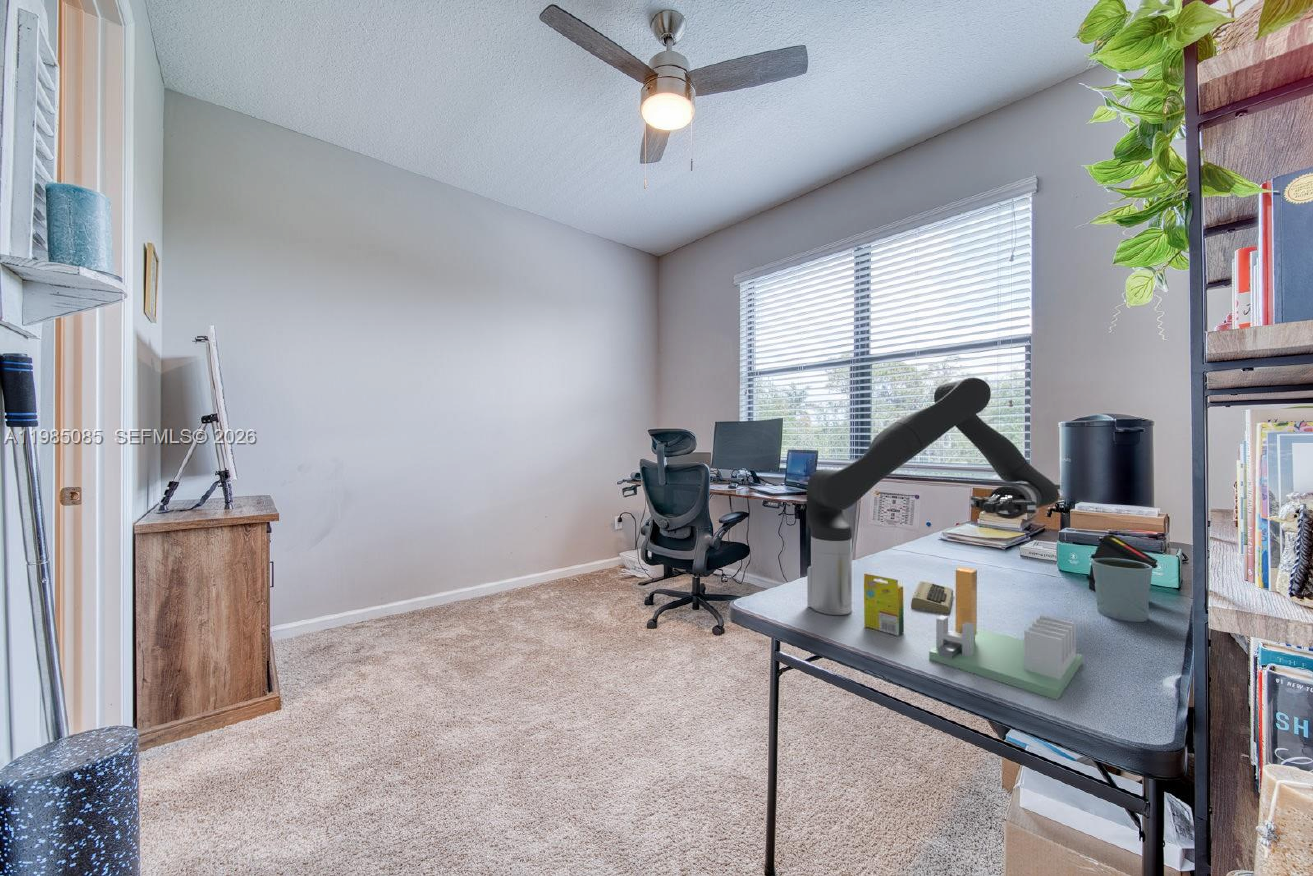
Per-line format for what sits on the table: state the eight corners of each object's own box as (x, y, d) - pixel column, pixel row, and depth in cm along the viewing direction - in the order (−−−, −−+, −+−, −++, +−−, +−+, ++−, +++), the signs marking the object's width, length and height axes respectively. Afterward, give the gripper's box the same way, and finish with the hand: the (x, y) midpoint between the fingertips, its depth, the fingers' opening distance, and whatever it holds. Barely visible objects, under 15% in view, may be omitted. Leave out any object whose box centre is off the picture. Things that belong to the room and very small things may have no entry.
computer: (949, 616, 116) (949, 601, 116) (910, 609, 121) (910, 595, 121) (953, 597, 129) (953, 584, 129) (918, 592, 134) (918, 579, 134)
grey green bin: (1165, 623, 110) (1165, 568, 110) (1119, 623, 110) (1120, 569, 110) (1121, 606, 120) (1122, 557, 120) (1080, 607, 120) (1080, 557, 120)
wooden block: (937, 654, 92) (937, 579, 92) (960, 636, 100) (961, 567, 100) (954, 659, 90) (954, 582, 90) (976, 641, 98) (977, 570, 97)
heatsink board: (929, 659, 94) (929, 616, 93) (965, 632, 106) (965, 594, 106) (1057, 700, 79) (1057, 649, 79) (1081, 663, 92) (1082, 619, 91)
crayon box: (904, 632, 106) (904, 577, 106) (898, 636, 104) (898, 580, 104) (869, 623, 111) (869, 570, 111) (863, 626, 109) (863, 573, 109)
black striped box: (1083, 578, 138) (1111, 533, 132) (1135, 613, 127) (1169, 566, 121) (1073, 579, 137) (1101, 534, 131) (1126, 615, 126) (1159, 568, 120)
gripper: (980, 482, 123) (954, 488, 111) (1048, 487, 113) (1027, 493, 101) (980, 513, 123) (954, 522, 111) (1048, 520, 113) (1026, 530, 101)
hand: (989, 508), depth 106 cm, fingers closed
